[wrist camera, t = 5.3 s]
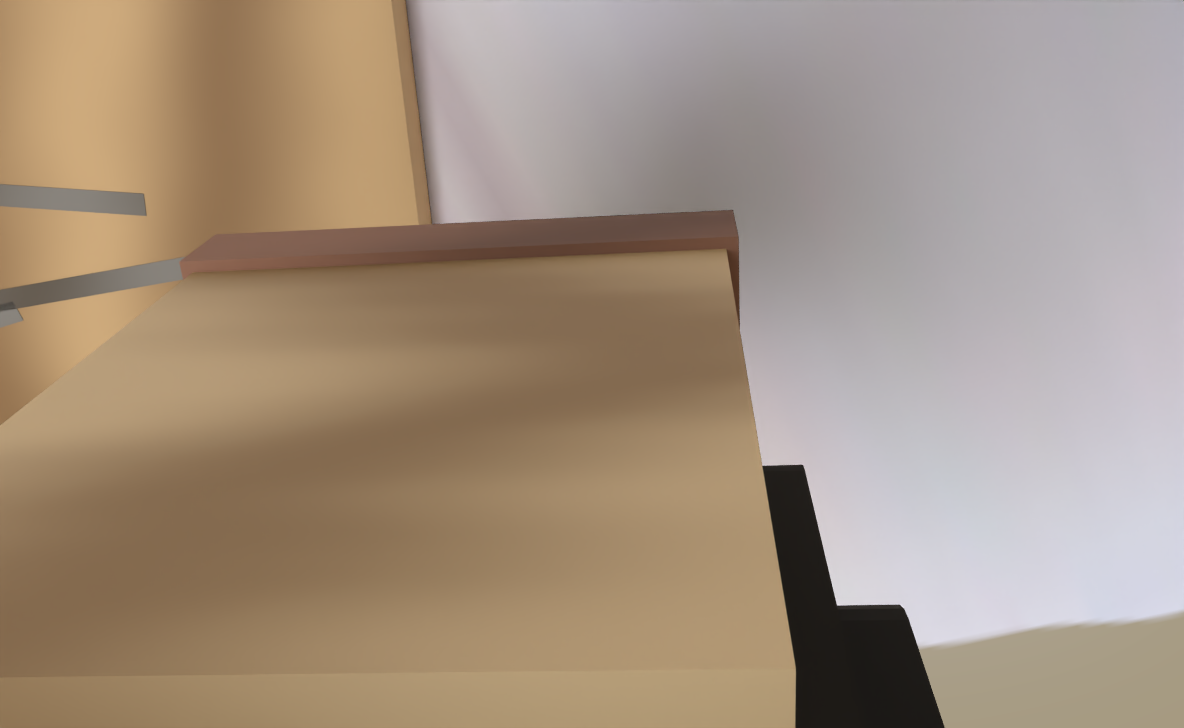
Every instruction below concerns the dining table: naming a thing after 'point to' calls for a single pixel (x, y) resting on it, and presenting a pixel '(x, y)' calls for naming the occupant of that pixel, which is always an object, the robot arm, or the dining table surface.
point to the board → (183, 151)
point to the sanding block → (404, 491)
